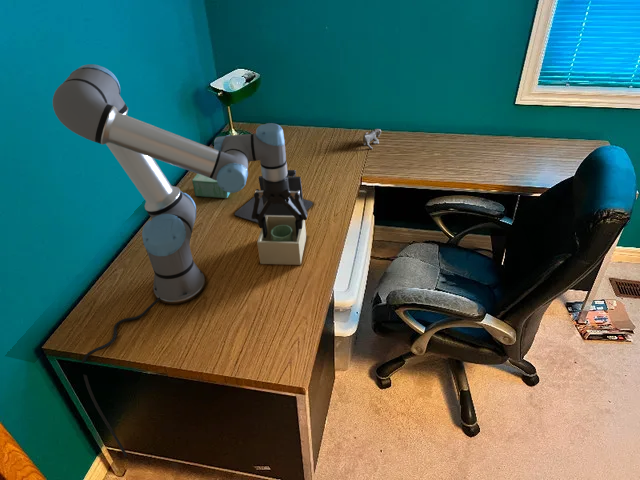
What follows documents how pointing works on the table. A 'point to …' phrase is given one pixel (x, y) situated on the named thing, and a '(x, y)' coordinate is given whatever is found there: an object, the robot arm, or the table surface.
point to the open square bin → (281, 243)
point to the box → (208, 187)
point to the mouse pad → (248, 209)
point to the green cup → (282, 233)
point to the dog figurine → (371, 137)
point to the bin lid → (293, 186)
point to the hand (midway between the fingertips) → (281, 235)
